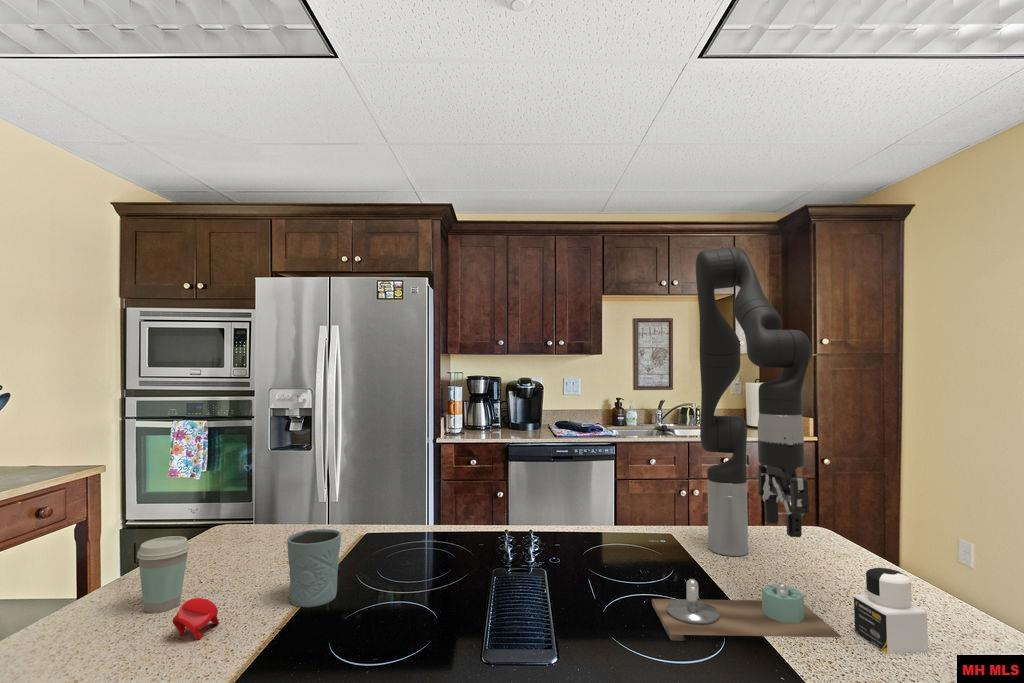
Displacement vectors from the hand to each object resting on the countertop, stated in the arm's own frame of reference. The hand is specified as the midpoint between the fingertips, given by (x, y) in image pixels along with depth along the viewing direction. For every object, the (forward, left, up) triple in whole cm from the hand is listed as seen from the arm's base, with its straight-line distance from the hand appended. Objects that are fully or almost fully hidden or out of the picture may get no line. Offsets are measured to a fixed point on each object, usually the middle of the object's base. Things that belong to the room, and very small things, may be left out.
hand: (782, 529), depth 98 cm
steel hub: (0, -16, -16) cm, 23 cm away
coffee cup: (-2, -115, -16) cm, 116 cm away
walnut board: (+1, -8, -16) cm, 18 cm away
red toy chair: (+8, -102, -16) cm, 104 cm away
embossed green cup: (-7, -88, -16) cm, 90 cm away
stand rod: (0, 0, -16) cm, 16 cm away
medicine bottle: (+9, +13, -16) cm, 22 cm away
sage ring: (0, 0, -15) cm, 15 cm away
